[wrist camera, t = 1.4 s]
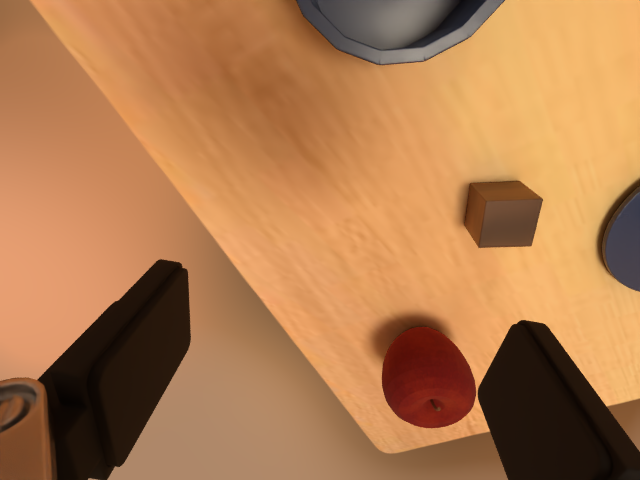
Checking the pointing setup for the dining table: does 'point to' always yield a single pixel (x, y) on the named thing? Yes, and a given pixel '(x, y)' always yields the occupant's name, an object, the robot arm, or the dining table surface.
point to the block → (502, 214)
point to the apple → (427, 379)
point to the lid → (624, 242)
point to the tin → (396, 26)
